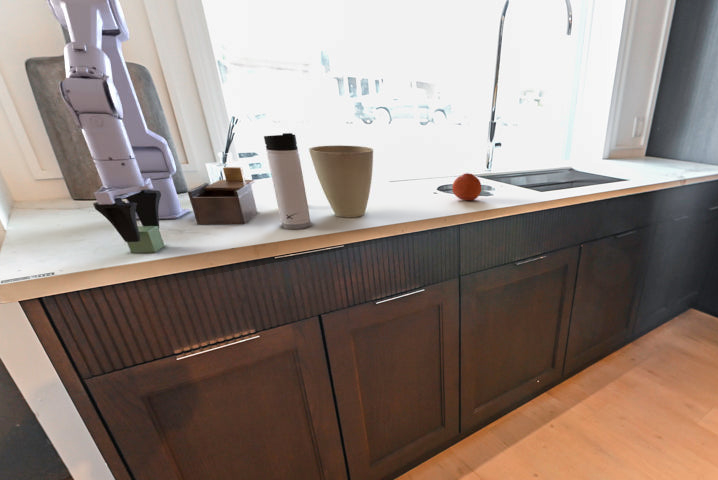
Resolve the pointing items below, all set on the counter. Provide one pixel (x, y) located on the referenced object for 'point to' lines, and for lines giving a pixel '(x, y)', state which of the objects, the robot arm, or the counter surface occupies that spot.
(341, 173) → the plant pot
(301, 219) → the travel mug
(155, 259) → the counter surface
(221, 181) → the lid
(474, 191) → the fruit
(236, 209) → the box
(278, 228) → the counter surface
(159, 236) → the block
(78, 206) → the counter surface
